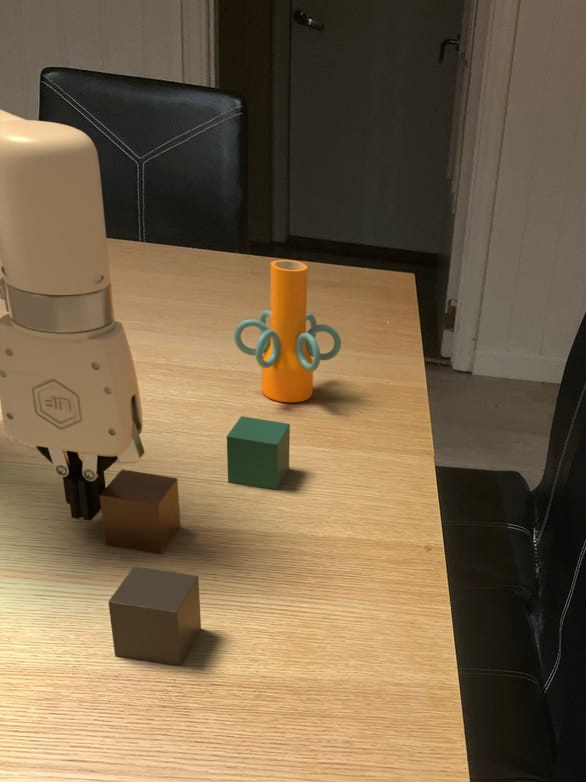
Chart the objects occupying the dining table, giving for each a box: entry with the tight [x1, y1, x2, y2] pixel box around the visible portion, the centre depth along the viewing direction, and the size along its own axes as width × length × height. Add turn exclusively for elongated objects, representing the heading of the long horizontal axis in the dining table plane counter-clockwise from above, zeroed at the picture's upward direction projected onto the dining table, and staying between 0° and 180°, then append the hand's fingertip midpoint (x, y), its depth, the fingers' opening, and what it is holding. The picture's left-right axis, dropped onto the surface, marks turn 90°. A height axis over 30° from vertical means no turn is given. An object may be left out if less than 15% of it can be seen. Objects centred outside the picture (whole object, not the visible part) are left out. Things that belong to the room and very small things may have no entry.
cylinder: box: [233, 259, 342, 403], centre depth 109 cm, size 12×10×15 cm
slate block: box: [107, 565, 202, 667], centre depth 71 cm, size 5×5×5 cm
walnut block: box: [99, 469, 181, 555], centre depth 83 cm, size 5×5×5 cm
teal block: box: [226, 416, 291, 490], centre depth 95 cm, size 5×5×5 cm
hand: (88, 511), depth 83 cm, fingers closed
